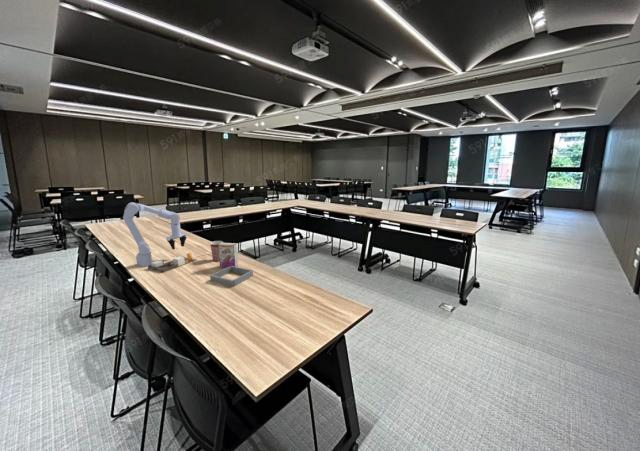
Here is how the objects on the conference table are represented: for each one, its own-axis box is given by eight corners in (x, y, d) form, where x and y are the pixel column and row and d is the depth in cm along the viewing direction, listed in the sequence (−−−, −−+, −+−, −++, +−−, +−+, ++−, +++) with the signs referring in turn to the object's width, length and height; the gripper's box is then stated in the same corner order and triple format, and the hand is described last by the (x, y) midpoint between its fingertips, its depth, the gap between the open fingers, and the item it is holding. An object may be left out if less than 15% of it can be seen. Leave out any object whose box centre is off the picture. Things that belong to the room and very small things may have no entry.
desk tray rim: (209, 281, 164) (209, 275, 163) (231, 270, 180) (231, 265, 179) (233, 286, 156) (233, 281, 155) (253, 275, 172) (253, 270, 172)
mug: (215, 263, 193) (214, 245, 190) (209, 260, 199) (207, 242, 196) (231, 258, 203) (230, 241, 200) (224, 256, 208) (223, 239, 205)
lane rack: (148, 270, 180) (147, 265, 179) (183, 258, 203) (182, 254, 202) (163, 274, 173) (162, 269, 173) (197, 261, 197) (197, 257, 196)
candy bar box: (219, 267, 185) (217, 244, 182) (222, 264, 190) (221, 242, 186) (235, 268, 184) (233, 245, 181) (238, 265, 189) (236, 243, 185)
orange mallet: (173, 264, 187) (172, 257, 186) (189, 259, 198) (188, 252, 197) (178, 266, 185) (177, 259, 184) (194, 260, 196) (193, 253, 195)
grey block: (151, 268, 180) (150, 262, 179) (158, 266, 184) (157, 260, 183) (156, 269, 178) (155, 264, 177) (163, 267, 182) (162, 261, 181)
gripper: (170, 232, 186) (172, 251, 189) (188, 228, 199) (190, 245, 202) (163, 231, 189) (166, 249, 192) (181, 227, 202) (183, 244, 205)
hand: (178, 247), depth 197 cm, fingers open, 7 cm apart
